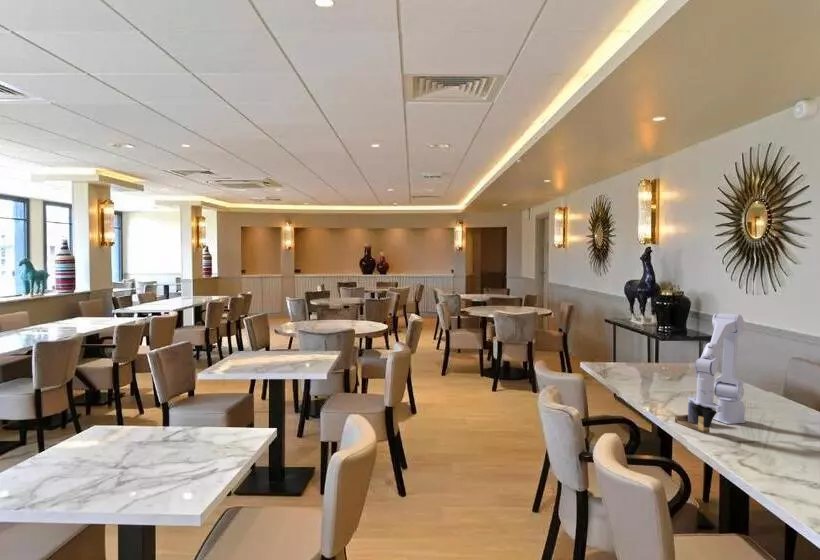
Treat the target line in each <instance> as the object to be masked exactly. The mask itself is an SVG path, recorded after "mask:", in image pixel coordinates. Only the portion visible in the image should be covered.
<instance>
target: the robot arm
mask: <svg viewBox="0 0 820 560" xmlns="http://www.w3.org/2000/svg"><path fill="white" fill-rule="evenodd" d="M711 319H712V320H711V322H712V327H713V331H712V335H711V339H710V342H708V343H706V344H705V346H704V348H703V351H702V353H701V356H700V357H699V358H697V359H696V360H695V363H694V372H695V377H696V397H693V396H691V397H690V396H688V399H687V400H688V401H687V402H689V403H694V404H695V405H694V406H692V409H693V410H694V412H695V415H696V418H697V422H698V416H703V418H704V427H706V428H707V427H710V428H711V426H712V425H711V424H712V421H713V420H716V421H718V422H720V423H724V424H726V425H732V424H744V423H747V422H746V420H745V409H746V408H745V404H744V402H743V400H742V399H743V398H744V393H745V389H744V381H742V379H741V378H739V377H738V376H737V374H736V373H737V360H738V359H737V357H738V342H739V336H741V335H743V333H744V325H745V324H744V323H745V320H744V318H743V316H742V315H741V314H732V313H731V314H730V313H720V312H715V313H714V314H713V315H712V317H711ZM722 344H723V349H722V347H721V346H722ZM722 351H723V353H722ZM721 353H722V354H723V355H722V369H721V374H720V375H719V376H716V377H715V375H717V372H718V367H719V366H718V365H719V359H720V356H721ZM714 396H715V397H716V399H717V403H715V402H714V398H715V397H714ZM716 414H717V415H716ZM715 415H716V416H715Z"/></svg>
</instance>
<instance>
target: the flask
mask: <svg viewBox="0 0 820 560" xmlns="http://www.w3.org/2000/svg"><path fill="white" fill-rule="evenodd" d="M687 402H688V401H687ZM694 405H695V404H694V403H689V402H688V406H687V414H688V421H687V422H689V423H691V424H694V425H698V422H697V418H696V415H695V412H694V410H693V409H692V406H694Z"/></svg>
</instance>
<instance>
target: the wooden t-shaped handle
mask: <svg viewBox="0 0 820 560" xmlns="http://www.w3.org/2000/svg"><path fill="white" fill-rule="evenodd" d="M687 421H688V413H687V414H675V415H674V422H675V423H678V424H680V425H682V426H685V427H687V428H691V429H692V430H696V431H698V432H701V434H702V433H703V434H710V428H711V426H710V427H707V428H706V427H704V418H703V416H698V424H692V423H689V422H687Z"/></svg>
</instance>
